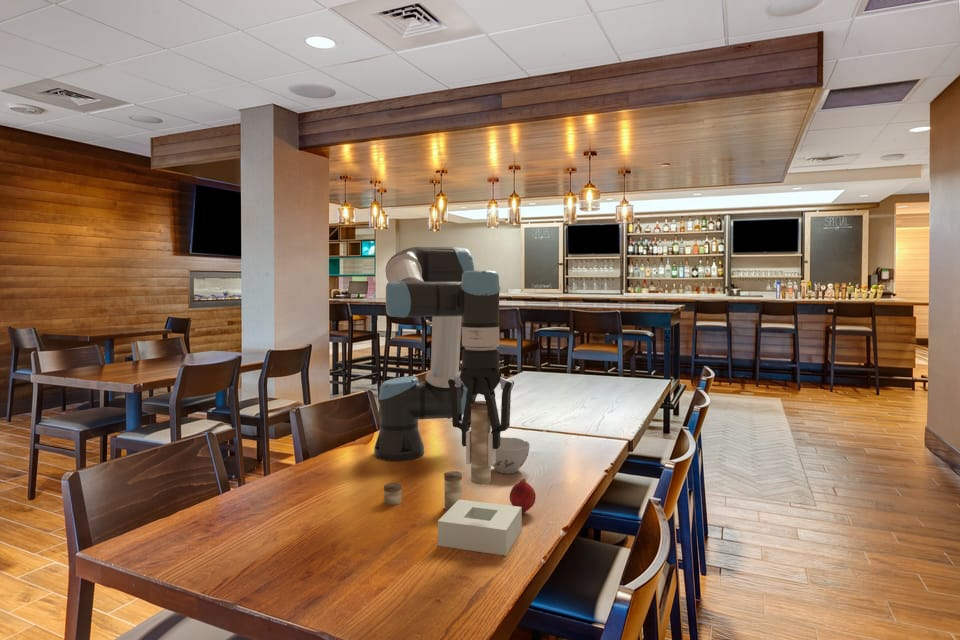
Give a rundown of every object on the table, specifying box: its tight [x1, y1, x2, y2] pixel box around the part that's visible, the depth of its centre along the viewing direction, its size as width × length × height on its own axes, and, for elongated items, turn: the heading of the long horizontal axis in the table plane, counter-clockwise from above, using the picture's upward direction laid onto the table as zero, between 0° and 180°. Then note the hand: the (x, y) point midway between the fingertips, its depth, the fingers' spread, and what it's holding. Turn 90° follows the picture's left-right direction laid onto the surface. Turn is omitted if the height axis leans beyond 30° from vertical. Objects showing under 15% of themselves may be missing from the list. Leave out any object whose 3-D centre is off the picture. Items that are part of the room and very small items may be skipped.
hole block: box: [437, 499, 523, 557], centre depth 115 cm, size 14×12×5 cm
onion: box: [509, 477, 537, 514], centre depth 128 cm, size 6×6×8 cm
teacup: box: [492, 436, 530, 475], centre depth 159 cm, size 15×12×8 cm
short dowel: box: [383, 482, 402, 506], centre depth 135 cm, size 4×4×4 cm
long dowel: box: [470, 400, 492, 485], centre depth 114 cm, size 4×4×16 cm
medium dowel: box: [443, 470, 463, 512], centre depth 131 cm, size 4×4×8 cm
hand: (481, 463), depth 115 cm, fingers closed on long dowel, 4 cm apart
